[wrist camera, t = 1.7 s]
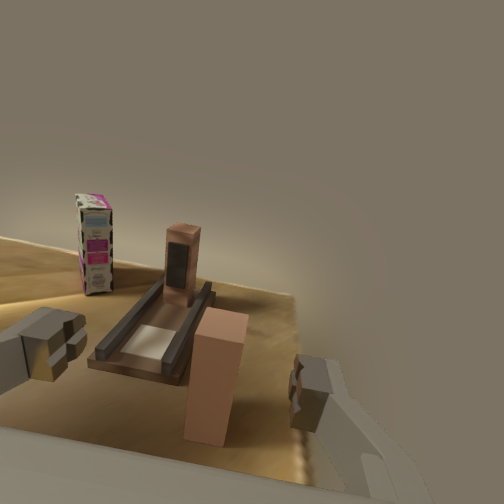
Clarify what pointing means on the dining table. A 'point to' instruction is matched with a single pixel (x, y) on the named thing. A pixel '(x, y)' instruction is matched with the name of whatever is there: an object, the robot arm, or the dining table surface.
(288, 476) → the dining table surface
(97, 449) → the robot arm
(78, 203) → the candy bar box
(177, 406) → the dining table surface
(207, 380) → the tall tan pillar
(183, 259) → the wooden stand
